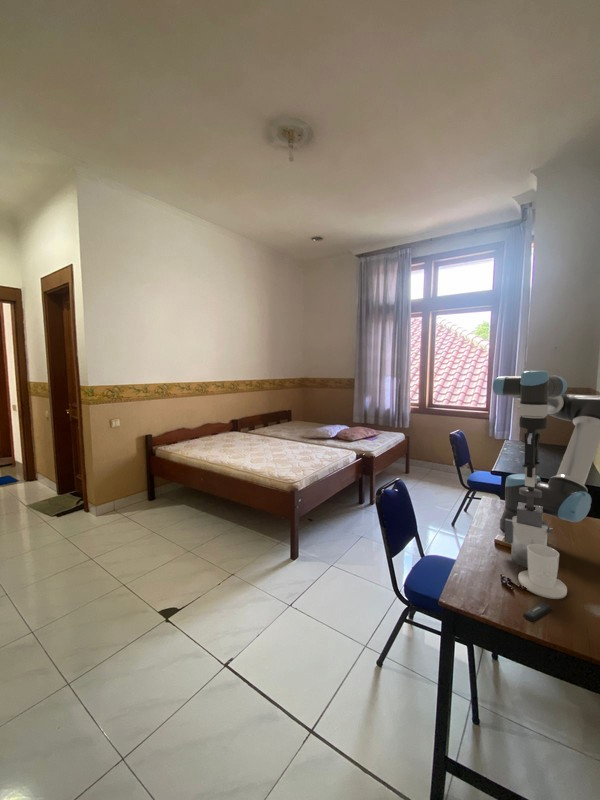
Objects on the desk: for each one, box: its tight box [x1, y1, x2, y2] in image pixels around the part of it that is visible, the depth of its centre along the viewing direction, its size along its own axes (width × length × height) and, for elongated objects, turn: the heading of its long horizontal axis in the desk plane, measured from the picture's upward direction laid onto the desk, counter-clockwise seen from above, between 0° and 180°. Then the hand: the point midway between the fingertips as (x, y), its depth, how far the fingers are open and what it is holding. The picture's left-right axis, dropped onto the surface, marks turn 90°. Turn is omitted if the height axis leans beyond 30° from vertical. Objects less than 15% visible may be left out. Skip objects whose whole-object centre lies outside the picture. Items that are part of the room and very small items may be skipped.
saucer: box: [518, 569, 568, 600], centre depth 101 cm, size 12×12×1 cm
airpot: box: [504, 502, 553, 568], centre depth 114 cm, size 13×10×19 cm
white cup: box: [527, 544, 560, 588], centre depth 101 cm, size 8×8×10 cm
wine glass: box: [519, 464, 542, 510], centre depth 113 cm, size 6×6×16 cm
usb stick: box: [523, 602, 552, 622], centre depth 90 cm, size 10×3×2 cm, turn 117°
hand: (530, 484), depth 113 cm, fingers closed on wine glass, 4 cm apart
